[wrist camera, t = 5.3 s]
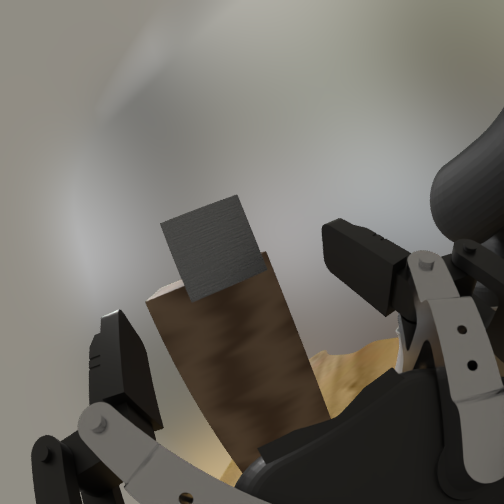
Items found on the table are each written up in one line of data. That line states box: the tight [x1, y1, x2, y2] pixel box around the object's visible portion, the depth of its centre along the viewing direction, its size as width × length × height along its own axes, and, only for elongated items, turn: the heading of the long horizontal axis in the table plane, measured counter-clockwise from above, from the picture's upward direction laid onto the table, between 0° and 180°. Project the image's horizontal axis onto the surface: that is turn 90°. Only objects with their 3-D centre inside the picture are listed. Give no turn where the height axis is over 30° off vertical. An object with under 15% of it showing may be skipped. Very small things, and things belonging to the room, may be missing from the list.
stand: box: [146, 251, 331, 473], centre depth 28 cm, size 12×16×32 cm
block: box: [160, 195, 267, 302], centre depth 22 cm, size 4×25×4 cm, turn 15°
